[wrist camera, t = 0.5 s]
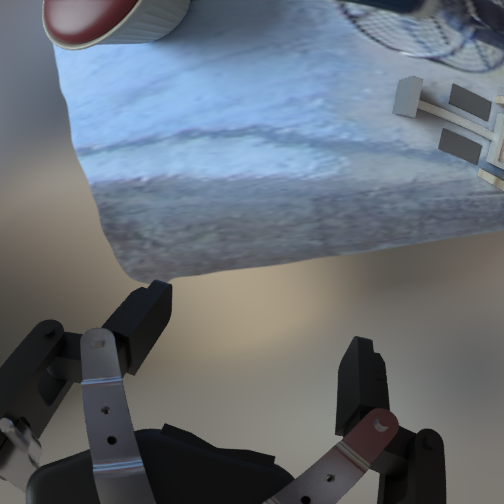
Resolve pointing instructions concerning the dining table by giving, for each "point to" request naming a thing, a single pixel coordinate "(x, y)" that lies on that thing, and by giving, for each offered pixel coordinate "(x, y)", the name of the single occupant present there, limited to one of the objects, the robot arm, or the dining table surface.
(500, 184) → the tunnel
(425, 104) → the grey elongated piece
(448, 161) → the dining table surface
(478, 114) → the pit pad
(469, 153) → the plate
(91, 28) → the canister
